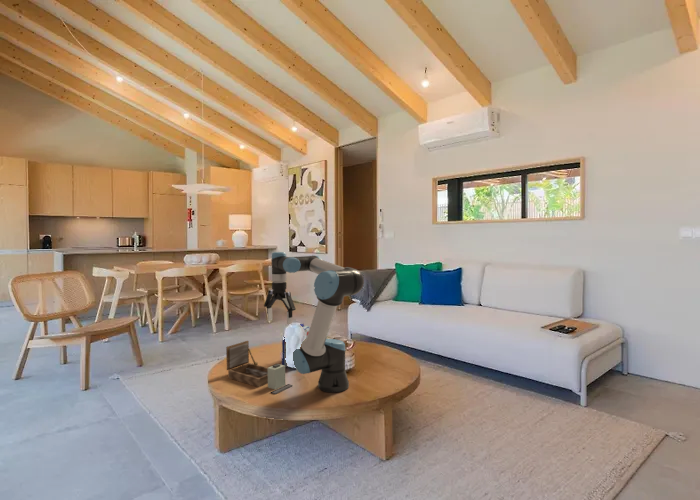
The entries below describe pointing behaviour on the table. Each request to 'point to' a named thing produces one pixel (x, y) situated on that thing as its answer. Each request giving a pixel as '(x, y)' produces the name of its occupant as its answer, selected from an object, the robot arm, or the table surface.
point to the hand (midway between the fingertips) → (279, 322)
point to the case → (245, 366)
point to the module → (276, 376)
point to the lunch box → (306, 330)
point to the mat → (281, 389)
